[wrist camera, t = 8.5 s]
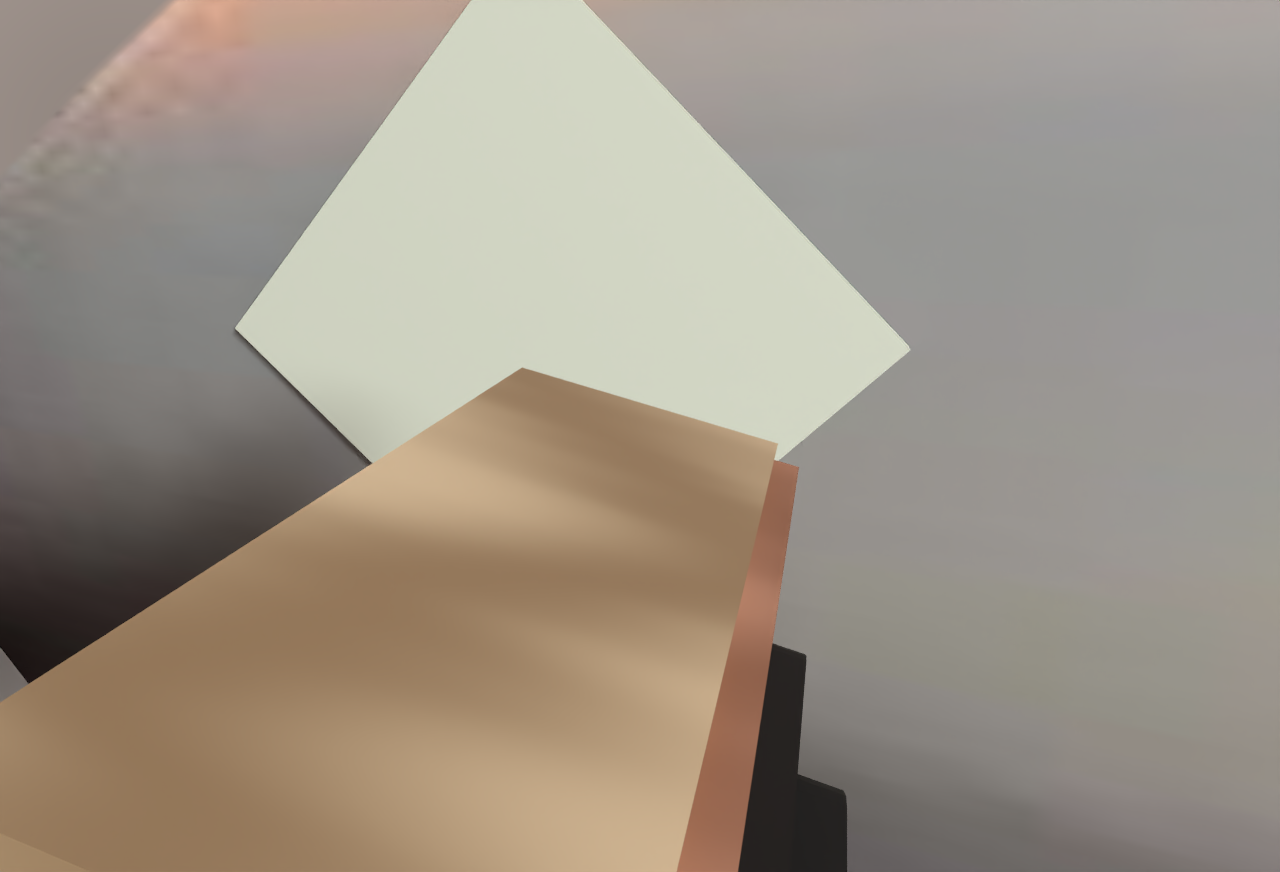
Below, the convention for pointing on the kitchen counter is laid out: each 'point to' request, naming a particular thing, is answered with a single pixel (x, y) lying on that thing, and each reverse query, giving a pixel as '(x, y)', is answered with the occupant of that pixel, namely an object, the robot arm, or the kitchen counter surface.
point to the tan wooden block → (438, 665)
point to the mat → (558, 252)
